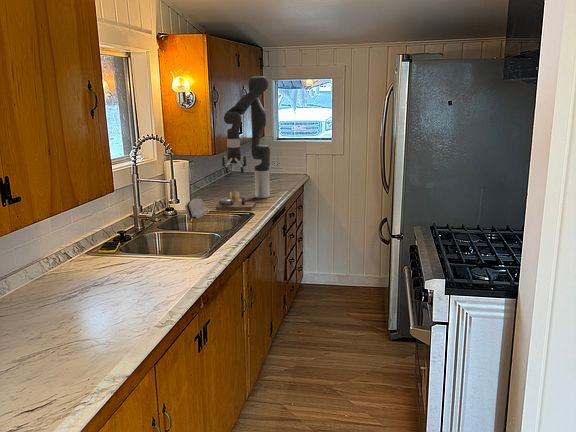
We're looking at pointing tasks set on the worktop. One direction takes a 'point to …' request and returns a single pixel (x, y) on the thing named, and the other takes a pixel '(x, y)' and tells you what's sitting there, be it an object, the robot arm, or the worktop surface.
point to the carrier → (237, 206)
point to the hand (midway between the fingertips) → (234, 173)
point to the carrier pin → (243, 201)
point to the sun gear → (226, 202)
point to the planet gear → (235, 196)
